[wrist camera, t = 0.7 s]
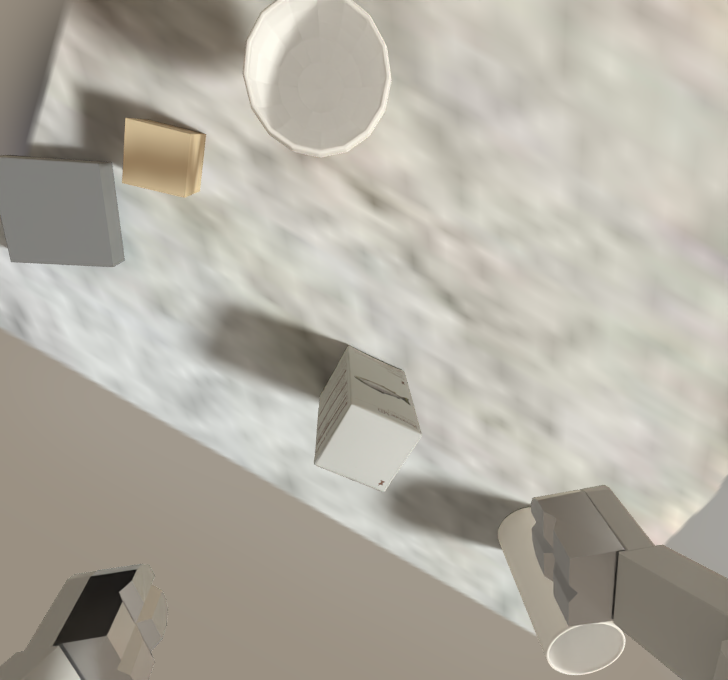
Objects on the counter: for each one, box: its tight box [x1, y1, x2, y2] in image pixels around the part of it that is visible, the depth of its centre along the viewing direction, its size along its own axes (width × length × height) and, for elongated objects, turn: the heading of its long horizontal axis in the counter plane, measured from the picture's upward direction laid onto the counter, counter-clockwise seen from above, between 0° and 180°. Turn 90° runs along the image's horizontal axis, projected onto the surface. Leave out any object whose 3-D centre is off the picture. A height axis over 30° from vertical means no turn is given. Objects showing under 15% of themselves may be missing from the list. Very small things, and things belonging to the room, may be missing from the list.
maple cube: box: [122, 118, 206, 198], centre depth 41 cm, size 5×5×5 cm
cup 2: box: [498, 507, 625, 675], centre depth 56 cm, size 8×8×16 cm
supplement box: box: [314, 346, 422, 492], centre depth 48 cm, size 7×7×13 cm
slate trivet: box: [0, 155, 125, 267], centre depth 43 cm, size 9×9×3 cm
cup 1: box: [243, 0, 392, 157], centre depth 34 cm, size 9×9×16 cm
